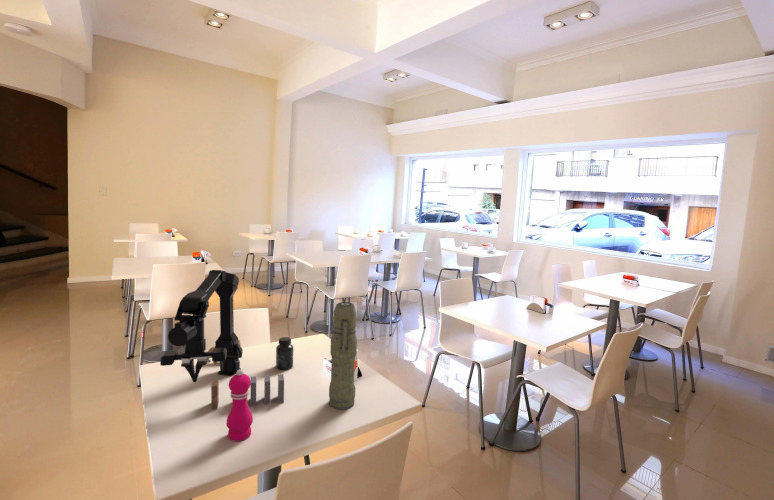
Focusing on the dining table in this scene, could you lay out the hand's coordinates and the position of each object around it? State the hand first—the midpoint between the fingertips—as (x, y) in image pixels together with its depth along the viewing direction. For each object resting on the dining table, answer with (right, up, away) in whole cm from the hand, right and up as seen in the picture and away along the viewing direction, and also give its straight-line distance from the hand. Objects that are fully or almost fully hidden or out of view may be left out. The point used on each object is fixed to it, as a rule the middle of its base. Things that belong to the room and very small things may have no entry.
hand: (195, 381), depth 132 cm
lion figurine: (-6, -4, +39) cm, 40 cm away
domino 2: (+17, -9, +6) cm, 20 cm away
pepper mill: (+19, -12, -13) cm, 26 cm away
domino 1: (+5, -9, +3) cm, 11 cm away
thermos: (+46, -10, +8) cm, 48 cm away
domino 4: (+25, -9, +9) cm, 28 cm away
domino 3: (+21, -9, +8) cm, 24 cm away
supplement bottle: (+20, -6, +36) cm, 41 cm away
